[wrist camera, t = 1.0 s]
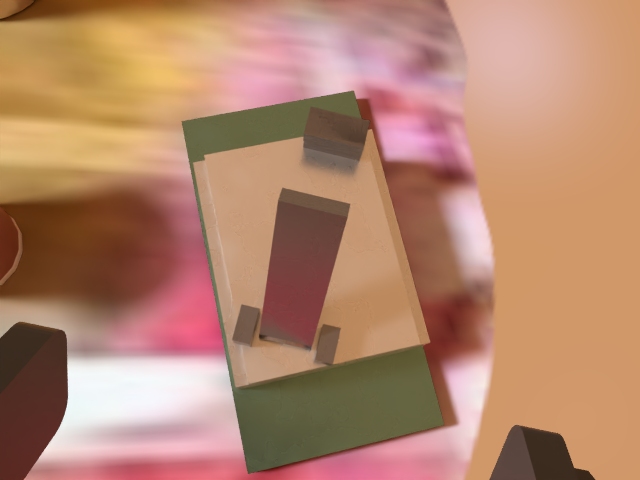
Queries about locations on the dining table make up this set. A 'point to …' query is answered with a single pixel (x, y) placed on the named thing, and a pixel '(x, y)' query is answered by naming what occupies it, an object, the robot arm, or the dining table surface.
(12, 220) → the coffee cup
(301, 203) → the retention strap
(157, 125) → the dining table surface
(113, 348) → the dining table surface
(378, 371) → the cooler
